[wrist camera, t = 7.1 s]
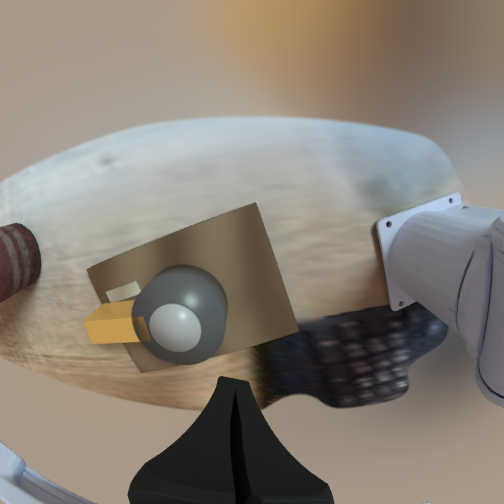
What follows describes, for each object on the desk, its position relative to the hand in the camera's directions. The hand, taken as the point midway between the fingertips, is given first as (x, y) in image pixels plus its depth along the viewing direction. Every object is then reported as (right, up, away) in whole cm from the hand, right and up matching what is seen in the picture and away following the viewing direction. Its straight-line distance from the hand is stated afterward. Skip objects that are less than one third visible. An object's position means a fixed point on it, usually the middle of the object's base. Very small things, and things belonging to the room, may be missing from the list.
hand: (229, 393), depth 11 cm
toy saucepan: (-6, +2, +8) cm, 10 cm away
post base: (-4, +3, +9) cm, 10 cm away
